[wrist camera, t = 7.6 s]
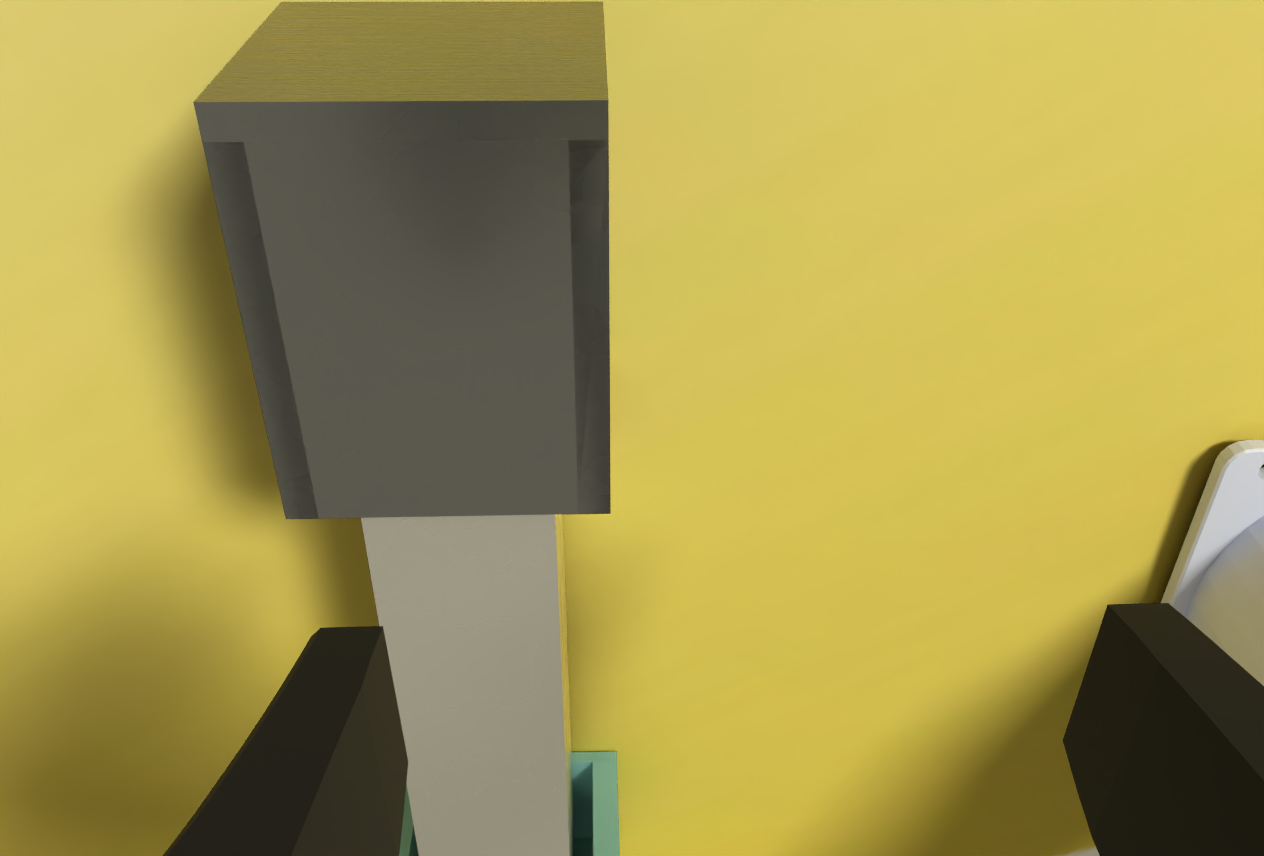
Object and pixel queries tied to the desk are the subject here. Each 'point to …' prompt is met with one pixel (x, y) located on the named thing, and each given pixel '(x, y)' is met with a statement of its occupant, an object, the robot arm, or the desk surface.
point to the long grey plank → (479, 678)
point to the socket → (590, 803)
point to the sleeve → (422, 253)
